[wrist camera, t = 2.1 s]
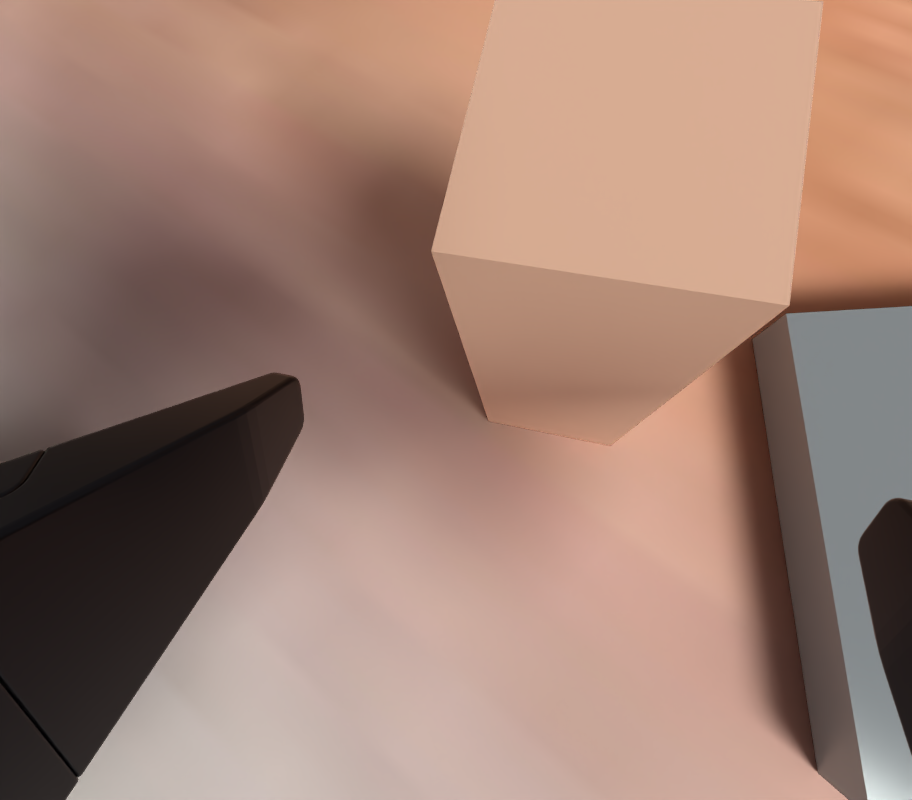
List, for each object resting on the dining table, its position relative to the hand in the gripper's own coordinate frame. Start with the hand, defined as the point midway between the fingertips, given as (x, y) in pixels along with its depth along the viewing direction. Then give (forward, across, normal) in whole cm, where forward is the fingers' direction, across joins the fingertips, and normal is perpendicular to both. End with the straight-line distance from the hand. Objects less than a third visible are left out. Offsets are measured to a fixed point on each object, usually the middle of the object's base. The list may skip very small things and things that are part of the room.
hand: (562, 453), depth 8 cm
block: (+11, 0, +5) cm, 12 cm away
